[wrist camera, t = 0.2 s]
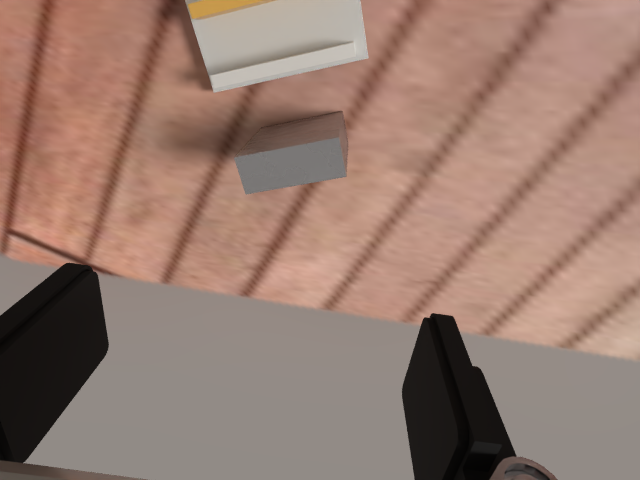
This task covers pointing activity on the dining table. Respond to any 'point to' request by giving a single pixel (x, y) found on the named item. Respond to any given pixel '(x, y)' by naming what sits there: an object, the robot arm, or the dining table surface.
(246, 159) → the panel
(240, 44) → the rack
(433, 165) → the dining table surface
